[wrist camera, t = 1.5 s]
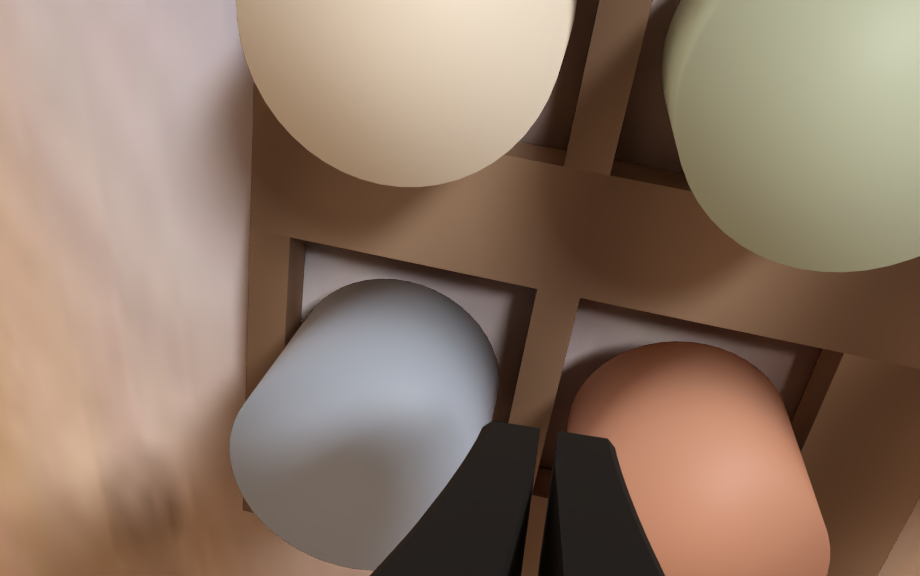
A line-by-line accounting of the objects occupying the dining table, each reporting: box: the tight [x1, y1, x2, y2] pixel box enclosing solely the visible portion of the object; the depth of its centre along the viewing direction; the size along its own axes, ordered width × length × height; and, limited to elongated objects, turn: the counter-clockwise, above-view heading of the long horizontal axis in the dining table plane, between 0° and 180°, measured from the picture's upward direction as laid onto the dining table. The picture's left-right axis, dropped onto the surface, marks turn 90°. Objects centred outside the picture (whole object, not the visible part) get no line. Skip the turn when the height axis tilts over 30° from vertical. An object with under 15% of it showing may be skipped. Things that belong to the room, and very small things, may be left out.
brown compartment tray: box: [243, 0, 920, 576], centre depth 18 cm, size 17×22×1 cm
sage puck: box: [662, 0, 920, 272], centre depth 13 cm, size 5×5×4 cm
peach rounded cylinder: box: [567, 341, 830, 576], centre depth 18 cm, size 5×5×4 cm
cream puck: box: [236, 0, 577, 187], centre depth 14 cm, size 5×5×4 cm
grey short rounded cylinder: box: [229, 279, 499, 570], centre depth 18 cm, size 5×5×4 cm
